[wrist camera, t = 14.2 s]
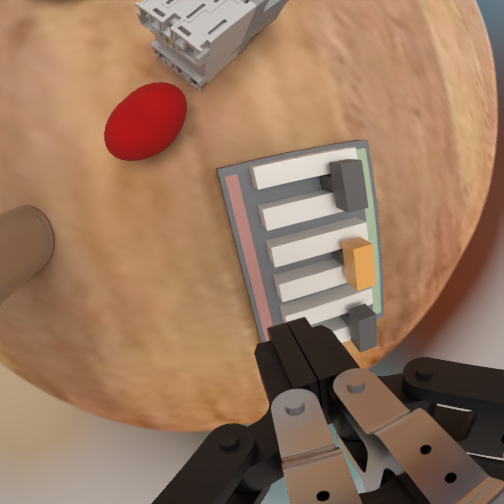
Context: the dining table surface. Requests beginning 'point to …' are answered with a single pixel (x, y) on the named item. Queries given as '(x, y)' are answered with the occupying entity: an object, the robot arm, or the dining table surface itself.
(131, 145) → the red plush heart
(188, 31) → the circuit breaker
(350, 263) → the handle
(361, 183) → the breaker panel
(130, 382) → the dining table surface
